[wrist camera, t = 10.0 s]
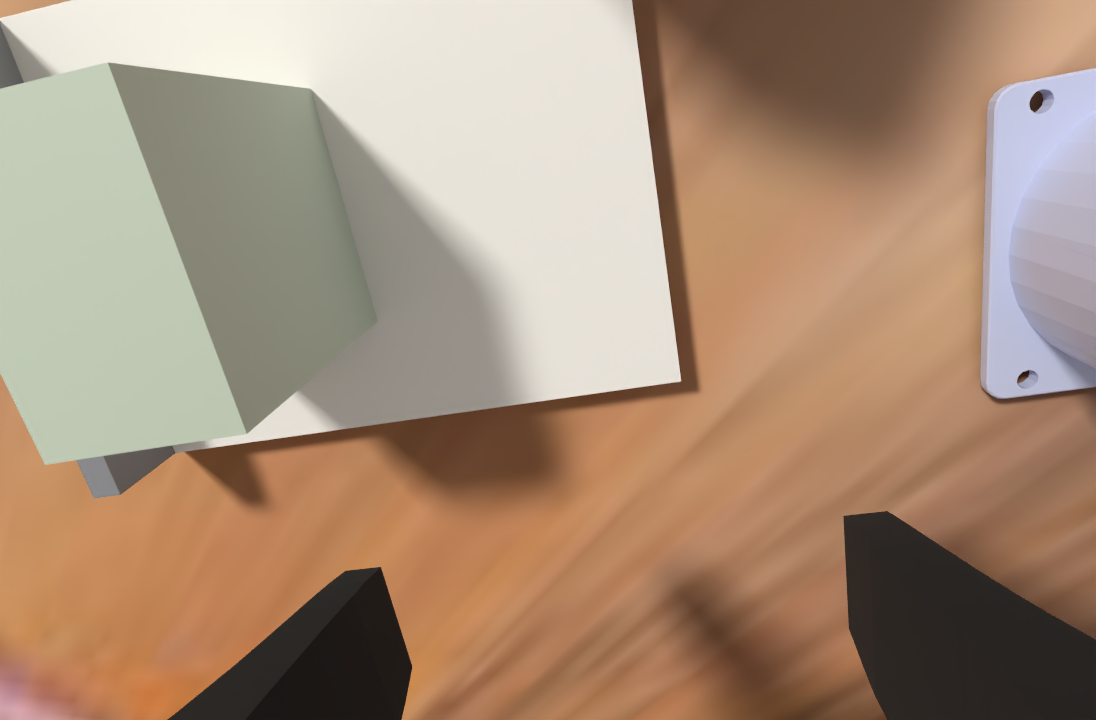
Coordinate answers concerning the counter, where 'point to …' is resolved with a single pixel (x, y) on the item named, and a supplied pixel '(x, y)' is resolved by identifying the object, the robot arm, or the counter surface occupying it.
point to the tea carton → (166, 257)
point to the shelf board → (434, 189)
